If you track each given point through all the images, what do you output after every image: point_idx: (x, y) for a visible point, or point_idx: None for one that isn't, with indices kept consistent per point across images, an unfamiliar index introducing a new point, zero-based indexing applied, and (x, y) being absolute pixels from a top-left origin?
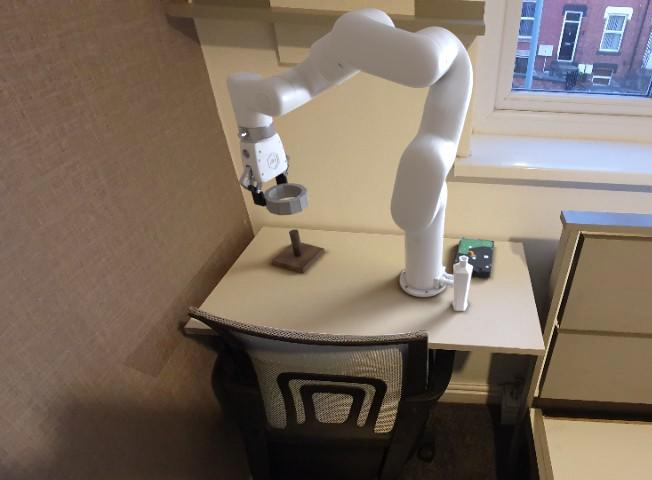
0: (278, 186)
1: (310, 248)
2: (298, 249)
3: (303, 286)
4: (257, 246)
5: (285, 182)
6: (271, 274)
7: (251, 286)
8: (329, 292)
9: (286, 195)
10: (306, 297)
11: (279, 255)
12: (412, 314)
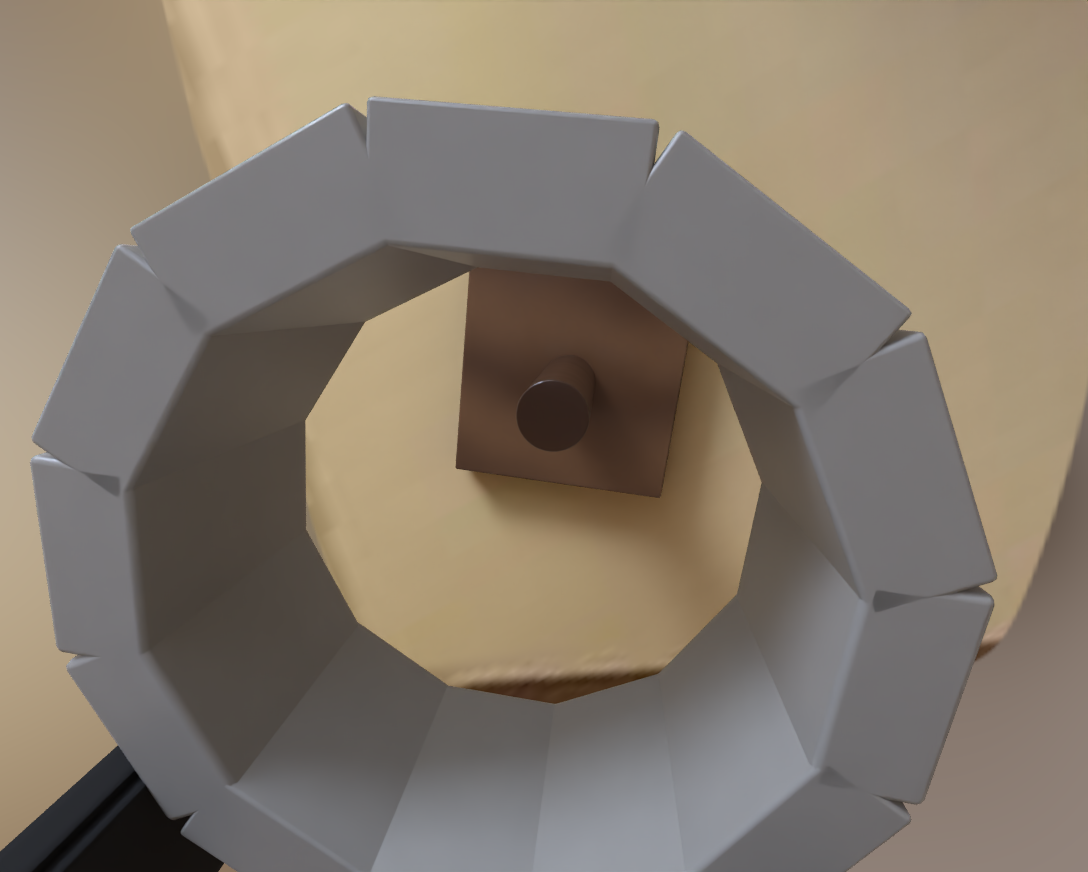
0: (303, 850)
1: (496, 341)
2: (585, 368)
3: (810, 218)
4: (536, 634)
5: (124, 803)
6: (740, 450)
7: None
8: (840, 19)
9: (335, 632)
10: (907, 145)
11: (610, 479)
12: None
